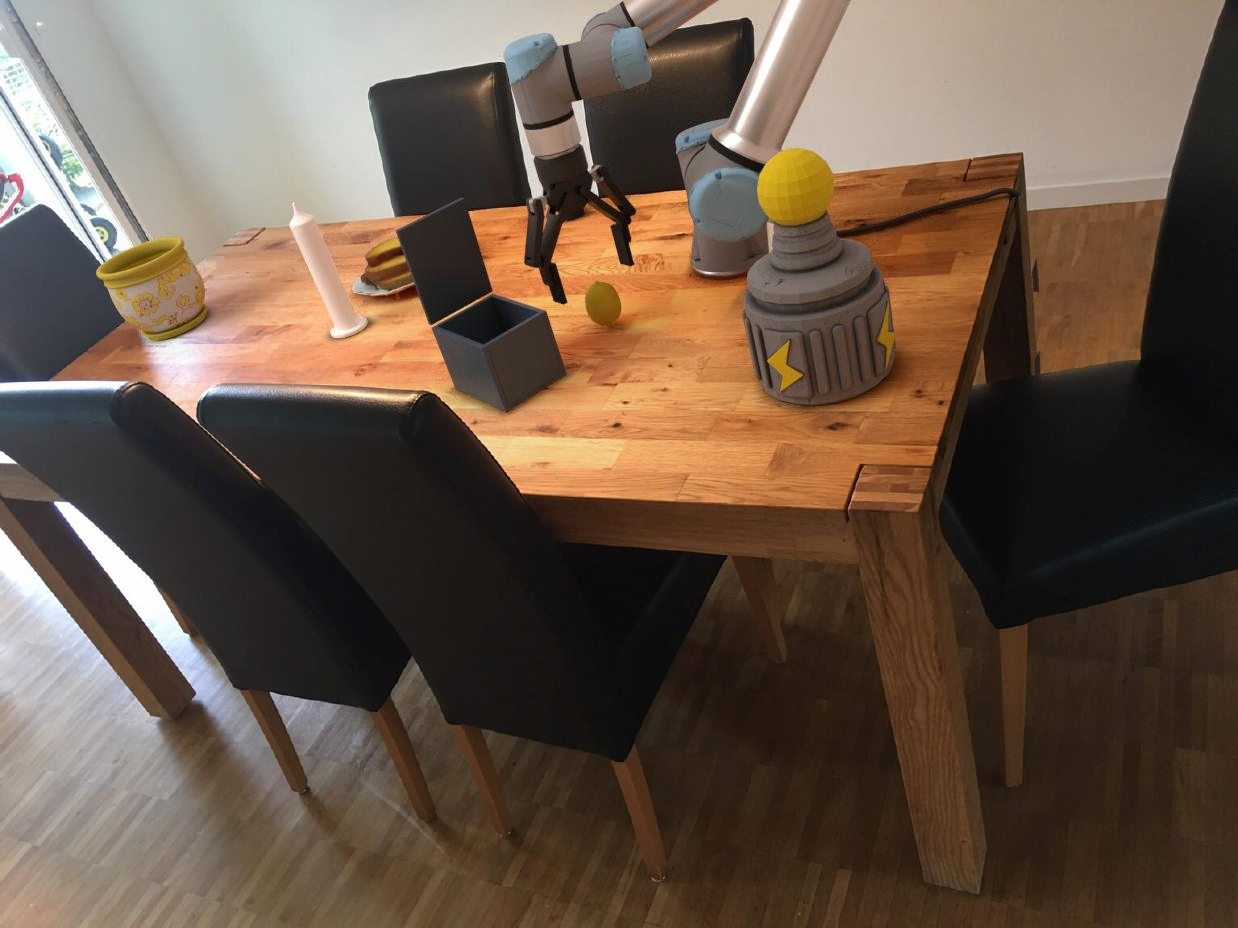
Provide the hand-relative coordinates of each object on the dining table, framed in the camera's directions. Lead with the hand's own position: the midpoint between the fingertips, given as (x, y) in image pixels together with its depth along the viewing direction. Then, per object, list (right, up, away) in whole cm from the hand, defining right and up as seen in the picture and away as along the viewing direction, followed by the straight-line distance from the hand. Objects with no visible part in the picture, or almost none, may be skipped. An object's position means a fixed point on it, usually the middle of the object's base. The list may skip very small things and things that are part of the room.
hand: (594, 283), depth 159 cm
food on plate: (-37, +10, +47) cm, 61 cm away
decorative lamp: (+31, -16, -24) cm, 42 cm away
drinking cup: (-5, +23, +52) cm, 57 cm away
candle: (-46, -3, +32) cm, 56 cm away
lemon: (+2, -6, +4) cm, 8 cm away
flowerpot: (-90, +1, +58) cm, 107 cm away
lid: (-21, +2, -9) cm, 23 cm away
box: (-13, -16, -3) cm, 20 cm away
